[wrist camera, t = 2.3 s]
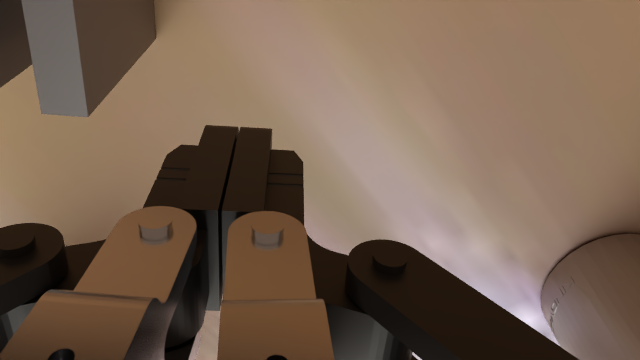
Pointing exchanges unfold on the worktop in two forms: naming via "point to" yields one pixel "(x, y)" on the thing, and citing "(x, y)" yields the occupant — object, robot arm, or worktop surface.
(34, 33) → the domino
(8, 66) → the domino
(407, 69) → the worktop surface
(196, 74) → the worktop surface
